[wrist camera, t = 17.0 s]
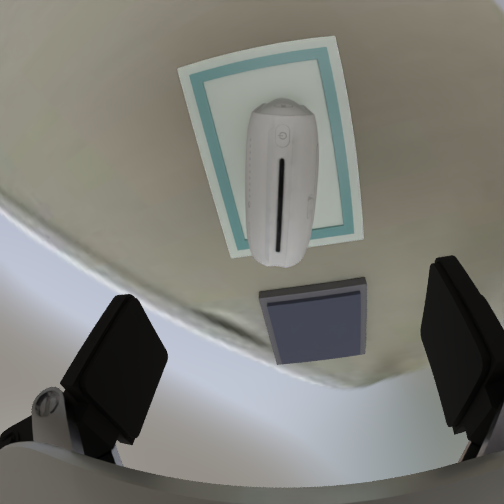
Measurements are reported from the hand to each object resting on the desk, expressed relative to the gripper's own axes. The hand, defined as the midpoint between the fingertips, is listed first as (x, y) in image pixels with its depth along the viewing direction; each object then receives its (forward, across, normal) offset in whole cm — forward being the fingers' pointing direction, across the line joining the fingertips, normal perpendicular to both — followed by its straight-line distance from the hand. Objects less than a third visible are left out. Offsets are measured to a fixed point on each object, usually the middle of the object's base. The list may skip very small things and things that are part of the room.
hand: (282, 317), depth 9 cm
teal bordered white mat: (+21, +1, 0) cm, 21 cm away
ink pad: (+21, 0, +21) cm, 29 cm away
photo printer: (+21, +1, 0) cm, 21 cm away
